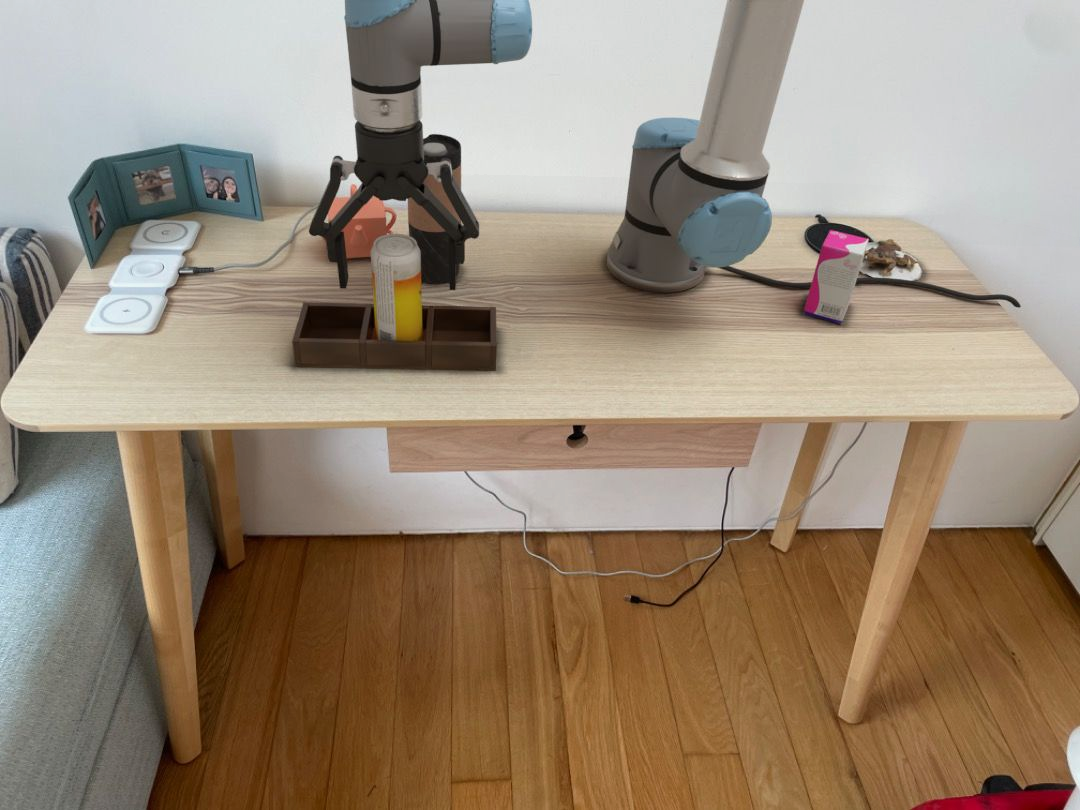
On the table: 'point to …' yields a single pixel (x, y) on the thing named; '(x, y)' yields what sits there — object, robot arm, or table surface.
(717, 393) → the table surface
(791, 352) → the table surface
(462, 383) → the table surface
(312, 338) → the rack
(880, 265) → the plate of food
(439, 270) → the travel mug
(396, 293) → the beer can
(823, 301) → the supplement box
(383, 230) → the teapot
